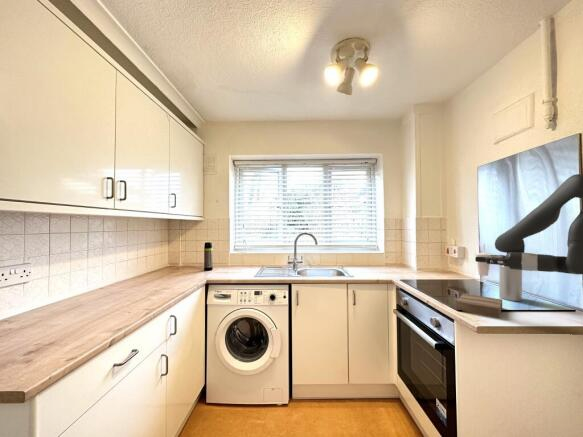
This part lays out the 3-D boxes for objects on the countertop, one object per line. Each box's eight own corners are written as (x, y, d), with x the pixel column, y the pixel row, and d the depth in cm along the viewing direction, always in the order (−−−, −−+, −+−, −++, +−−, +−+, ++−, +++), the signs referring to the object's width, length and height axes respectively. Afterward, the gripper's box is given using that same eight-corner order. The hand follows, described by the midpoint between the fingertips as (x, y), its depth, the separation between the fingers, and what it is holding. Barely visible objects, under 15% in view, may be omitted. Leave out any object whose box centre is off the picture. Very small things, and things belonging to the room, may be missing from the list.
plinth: (463, 301, 142) (462, 293, 141) (502, 308, 131) (502, 299, 131) (456, 309, 129) (456, 301, 129) (499, 317, 119) (499, 308, 119)
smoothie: (494, 276, 125) (494, 245, 125) (478, 276, 127) (478, 245, 126) (487, 273, 132) (487, 243, 131) (472, 273, 133) (472, 243, 133)
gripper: (523, 250, 125) (478, 248, 136) (522, 254, 114) (474, 251, 125) (523, 267, 125) (478, 263, 136) (522, 273, 114) (474, 268, 125)
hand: (476, 258), depth 131 cm, fingers closed on smoothie, 6 cm apart
